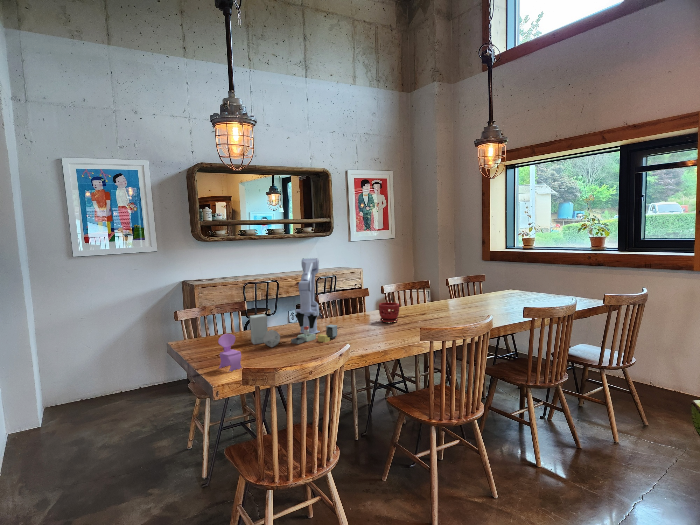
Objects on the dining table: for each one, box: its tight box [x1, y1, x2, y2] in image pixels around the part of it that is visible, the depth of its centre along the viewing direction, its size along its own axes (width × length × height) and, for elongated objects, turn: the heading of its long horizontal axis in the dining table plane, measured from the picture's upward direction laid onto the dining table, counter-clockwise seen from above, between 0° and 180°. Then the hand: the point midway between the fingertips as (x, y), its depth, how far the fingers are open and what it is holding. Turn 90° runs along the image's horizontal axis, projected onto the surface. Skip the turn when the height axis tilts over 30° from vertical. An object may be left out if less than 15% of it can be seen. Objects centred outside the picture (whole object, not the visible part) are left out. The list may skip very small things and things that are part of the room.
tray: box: [297, 333, 317, 343], centre depth 229 cm, size 7×7×2 cm
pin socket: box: [290, 336, 306, 345], centre depth 224 cm, size 5×5×2 cm
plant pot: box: [378, 301, 400, 323], centre depth 268 cm, size 13×13×12 cm
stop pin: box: [303, 326, 309, 337], centre depth 229 cm, size 3×3×6 cm
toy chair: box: [217, 333, 243, 372], centre depth 183 cm, size 8×9×15 cm
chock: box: [317, 333, 331, 343], centre depth 226 cm, size 5×4×4 cm
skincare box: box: [249, 313, 269, 345], centre depth 226 cm, size 8×6×15 cm
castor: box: [325, 324, 338, 340], centre depth 231 cm, size 5×6×7 cm
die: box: [263, 329, 281, 348], centre depth 218 cm, size 8×9×10 cm
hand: (306, 327), depth 229 cm, fingers open, 7 cm apart
